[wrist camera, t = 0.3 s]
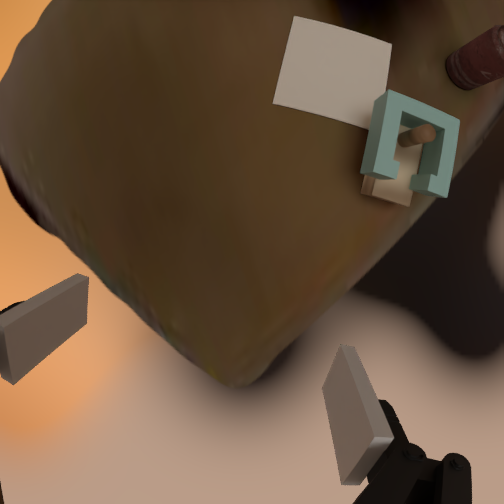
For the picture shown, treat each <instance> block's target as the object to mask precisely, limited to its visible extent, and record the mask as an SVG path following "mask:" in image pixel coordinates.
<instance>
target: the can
mask: <svg viewBox="0 0 504 504" xmlns="http://www.w3.org/2000/svg"><path fill="white" fill-rule="evenodd" d="M447 71H448V74H449V76H450V78H451V79H452V80H453V82H454V83H455V84H456V85H458V86H459V87H461V88H463V89H465V90H472V89H474V88H477V87H479V86H482V85H484V84H487V83H489V82H492V81H494V80H497V79H499V78H502V77H504V25H496V26H494V27H492V28H491V29H489V30H488V31H486V32H484V33H483V34H481V35H480V36H478V37H477V38H475V39H474V40H472V41H470V42H469V43H467V44H466V45H464V46H463V47H461V48H460V49H458V50H457V51H455V52H454V53H452V54H451V55H450V56H449V57H448V59H447Z"/></svg>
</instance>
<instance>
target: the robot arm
mask: <svg viewBox="0 0 504 504" xmlns="http://www.w3.org/2000/svg"><path fill="white" fill-rule="evenodd" d="M88 285H89V277H87V276H83V275H81V274H75V275H73V276H71V277H70V278H68V279H66V280H64V281H62V282H60V283H58V284H56V285H54V286H52V287H50V288H49V289H47V290H45V291H43V292H41V293H39V294H37V295H35V296H34V297H32V298H30V299H28V300H26V301H21V302H17V303H14V304H12V305H10V306H8V307H7V308H5V309H3V310H2V311H0V374H1V377H2V378H3V379H5V380H6V381H8V382H10V383H11V384H12V385H14V384H16V383H17V382H18V381H19V380H20V379H21V378H22V377H24V376H25V375H26V374H27V373H28V372H29V371H30V370H32V369H33V368H34V367H35V366H36V365H38V363H40V362H41V361H42V360H43V359H45V358H46V357H47V356H48V355H49V354H50V353H51V352H53V351H54V350H55V349H56V348H58V347H59V346H60V345H61V344H62V343H64V342H65V341H66V340H67V339H68V338H70V337H71V336H72V335H73V334H75V333H76V332H77V331H78V330H79V329H81V328H82V327H83V326H84V325H86V324H87V303H88ZM322 390H323V395H324V399H325V404H326V409H327V413H328V419H329V423H330V428H331V434H332V439H333V444H334V449H335V454H336V459H337V464H338V470H339V475H340V481H341V485H360V484H361V483H362V481H363V480H364V479H365V478H366V476H367V479H368V483H369V484H368V485H367V487H366V488H365V489H364V490H363V491H362V493H361V494H360V495H359V496H358V497H357V499H356V500H355V502H354V503H353V504H472V481H471V480H472V479H471V466H470V463H469V461H468V460H467V459H466V458H465V457H464V456H462V455H460V454H458V453H449V454H447V455H446V456H445V457H444V458H443V460H442V461H438V460H433V459H429V458H427V457H426V454H425V452H424V451H423V450H422V449H421V448H420V447H419V446H417V445H415V444H412V443H409V441H408V439H407V437H406V435H405V432H404V430H403V428H402V426H401V424H400V423H399V419H398V417H396V416H397V415H396V413H395V411H394V409H393V407H392V406H391V405H390V404H389V403H388V402H387V401H386V400H379V399H378V398H377V396H376V394H375V392H374V389H373V387H372V385H371V383H370V380H369V378H368V376H367V374H366V371H365V369H364V367H363V365H362V363H361V361H360V358H359V356H358V354H357V352H356V350H355V347H352V346H347V345H341V344H340V346H339V349H338V352H337V354H336V356H335V359H334V361H333V364H332V366H331V369H330V371H329V373H328V376H327V378H326V380H325V383H324V385H323V387H322ZM0 504H4V501H3V495H2V489H1V483H0Z"/></svg>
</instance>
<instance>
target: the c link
mask: <svg viewBox="0 0 504 504" xmlns="http://www.w3.org/2000/svg"><path fill="white" fill-rule="evenodd" d="M424 124H430V125H431V126H433V127H434V129H435V131H436V137H435V139H434V140H433V141H431V142H427V143H424V146H423V152H422V157H421V162H420V167H419V172H418V174H414V175H412V177H411V181H410V186H409V189H410V190H413V191H416V192H418V193H421V194H424V195H427V196H435V197H445V198H447V195H448V190H449V185H450V181H451V176H452V170H453V165H454V159H455V153H456V146H457V140H458V132H459V124H460V120H458V119H456V118H454V117H452V116H450V115H448V114H446V113H444V112H442V111H440V110H438V109H435V108H433V107H431V106H429V105H426V104H424V103H422V102H419V101H417V100H415V99H412V98H410V97H407V96H405V95H402V94H400V93H397V92H394V91H392V90H387V91H386V92H385V93H384V94H382V95H381V96H380V97H378V98H377V99H376V100H375V101H374V106H373V111H372V117H371V122H370V127H369V132H368V137H367V142H366V147H365V152H364V156H363V161H362V166H361V170H360V173H361V174H364V175H367V176H370V177H374V178H377V179H380V180H390V179H397V175H398V170H399V165H400V162H398V161H395V160H393V158H394V153H395V148H396V143H397V137H398V132H399V126H400V125H403V126H405V127H408V128H411V129H413V128H416V127H419V126H422V125H424Z"/></svg>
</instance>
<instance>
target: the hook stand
mask: <svg viewBox="0 0 504 504" xmlns="http://www.w3.org/2000/svg"><path fill="white" fill-rule="evenodd" d="M435 137H436V131H435V129H434V127H433V126H431V125H430V124H424V125H422V126H419V127H416V128H413V129H411V128H408V127H405V126H403V125H400V126H399V132H398V137H397V143H396V148H395V153H394V158H393V160H395V161H398V162H400V165H399V170H398V175H397V179H390V180H380V179H377V178H374V177H370V176H367V175H365V176H364V180H363V184H362V189H361V193H360V194H363V195H367V196H370V197H373V198H377V199H380V200H383V201H386V202H390V203H393V204H397V205H402V206H407V207H409V206H410V201H411V197H412V193H413V190H410V189H409V186H410V181H411V177H412V175H414V174H417V170H418V165H419V160H420V154H421V149H422V143H427V142H431V141H433V140H434V139H435Z"/></svg>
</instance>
